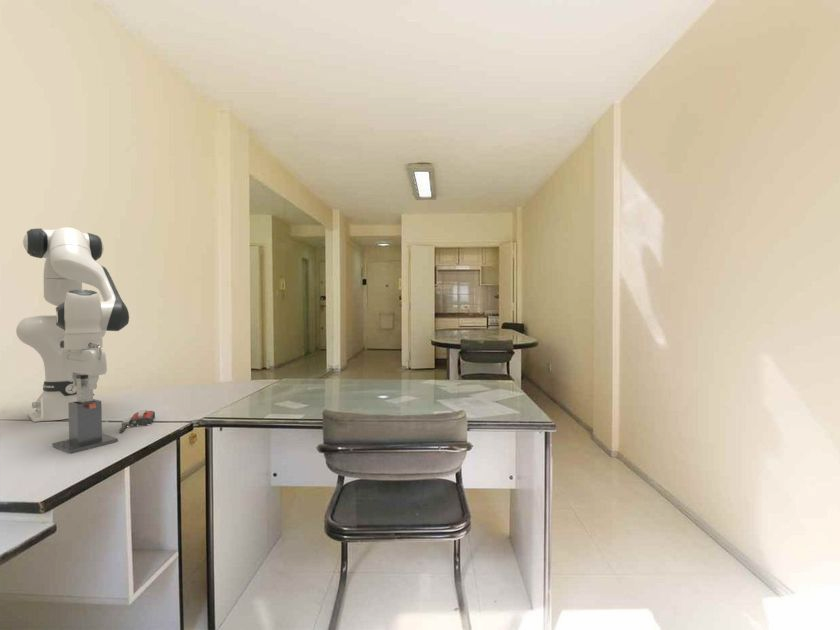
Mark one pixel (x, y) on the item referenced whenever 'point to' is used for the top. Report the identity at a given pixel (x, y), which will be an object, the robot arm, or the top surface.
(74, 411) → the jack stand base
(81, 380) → the column
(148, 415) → the walkie-talkie
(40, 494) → the top surface
